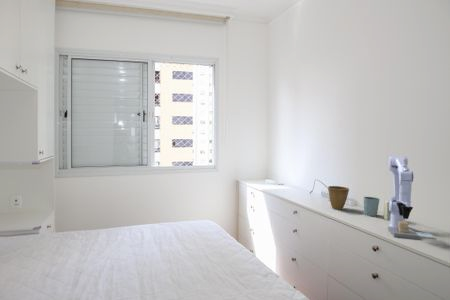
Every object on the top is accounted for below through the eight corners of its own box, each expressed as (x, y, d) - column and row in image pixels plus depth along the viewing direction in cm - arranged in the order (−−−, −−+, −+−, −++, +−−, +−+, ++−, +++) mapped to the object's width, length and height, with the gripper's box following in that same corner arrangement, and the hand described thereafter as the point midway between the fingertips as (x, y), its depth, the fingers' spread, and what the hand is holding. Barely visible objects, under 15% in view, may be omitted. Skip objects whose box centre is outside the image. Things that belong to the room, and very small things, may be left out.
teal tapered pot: (359, 213, 227) (360, 197, 226) (369, 212, 231) (370, 196, 231) (372, 217, 218) (372, 199, 217) (381, 216, 222) (382, 198, 222)
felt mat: (412, 232, 184) (412, 231, 184) (429, 234, 182) (429, 233, 182) (417, 237, 176) (417, 235, 176) (435, 238, 173) (435, 237, 173)
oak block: (397, 233, 182) (398, 220, 182) (405, 233, 181) (406, 221, 181) (399, 235, 178) (400, 222, 178) (407, 235, 177) (408, 223, 177)
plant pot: (323, 208, 242) (324, 186, 241) (333, 205, 252) (334, 185, 251) (341, 211, 231) (342, 189, 230) (351, 209, 241) (352, 188, 240)
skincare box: (392, 218, 216) (393, 200, 215) (395, 220, 211) (396, 202, 211) (383, 218, 215) (383, 200, 215) (386, 220, 211) (387, 201, 210)
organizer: (388, 229, 188) (388, 226, 188) (410, 232, 185) (410, 228, 185) (394, 236, 174) (394, 233, 174) (418, 239, 171) (419, 235, 171)
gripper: (393, 190, 187) (392, 213, 187) (400, 194, 173) (399, 219, 173) (407, 191, 185) (405, 214, 185) (415, 195, 171) (413, 220, 171)
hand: (403, 217), depth 179 cm, fingers open, 7 cm apart
